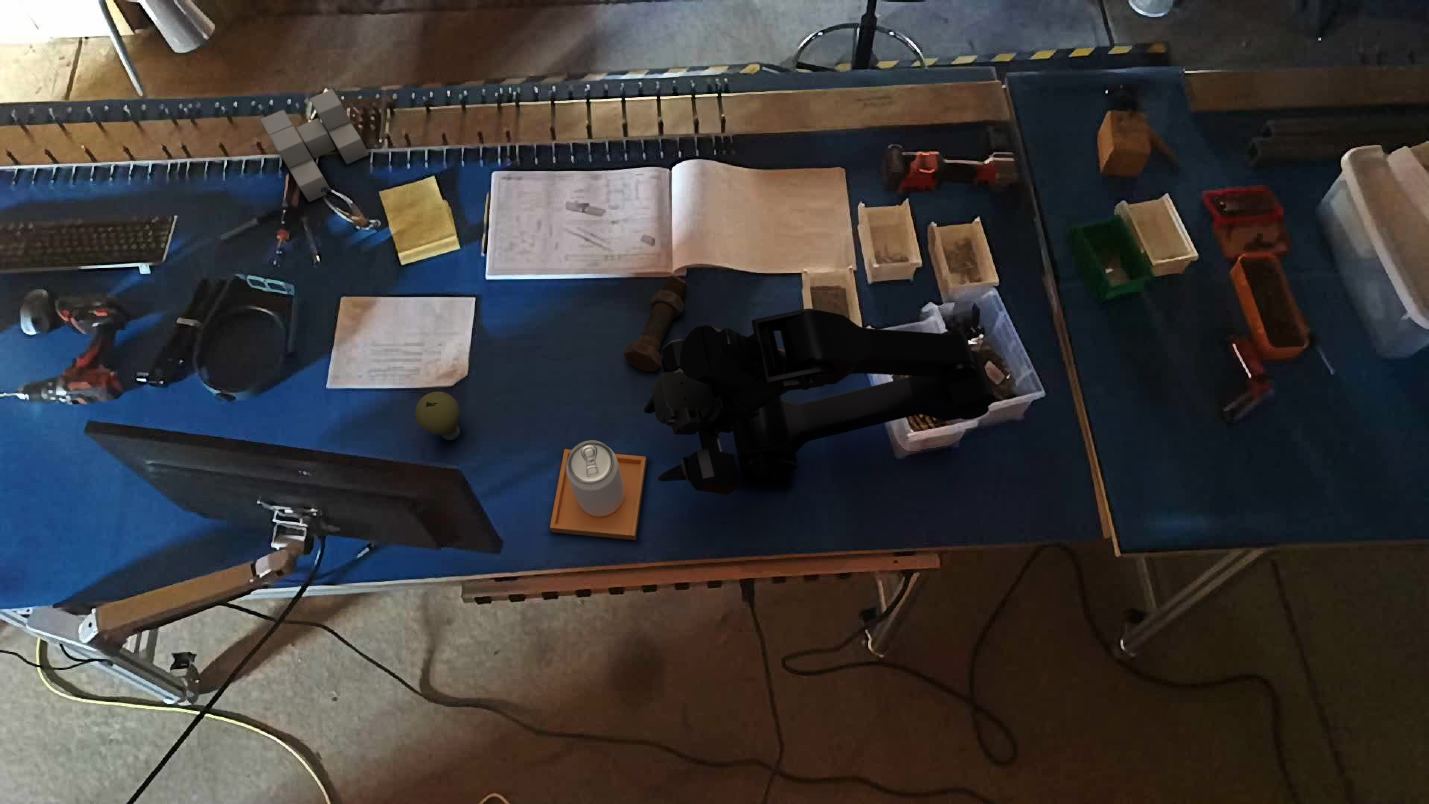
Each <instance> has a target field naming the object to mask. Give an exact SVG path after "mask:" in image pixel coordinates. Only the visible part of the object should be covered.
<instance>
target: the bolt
mask: <svg viewBox="0 0 1429 804" xmlns="http://www.w3.org/2000/svg"><path fill="white" fill-rule="evenodd" d="M687 287H688V286H687V282H686V280H684V279H683V278H681V277H679V276H677V275H668V277H667V278H666V281H665V283H664V285H663V287H662V289H660V290H658V291H656V293H655V294H654V295H653V296H652V298H651V300H650V302H649V303H650V305H651V308H652V311H651V313H650V315H649V317H648V319H647V322H646V324H645V326H644V328H643V330H642V332H641V334H640V336H639V338H638V339H637V340H634V341H632V342H631V343H630V344H629V345H627V346H626V347H625V349H624V351H623V357H624V358H625V361H626V362H627V363H629V364H630V365H631V366H633V367H635V368H636V369H637V370H640V371H642V372H656V371H657V370H659V368H661V367H662V365H661V360H662V358H663V355H661V353H660V350H661V346H662V345H663V342H664V340H665V337H666V335H667V333H668V330H669V328H670V326H671V324H672V321H673V319H675V318H677V317H679V316H680V315H681V314H682V312H683V311H684V308H685V304H684V302H683V296H684V294H685V292H686V290H687Z"/></svg>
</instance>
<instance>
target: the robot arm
mask: <svg viewBox="0 0 1429 804" xmlns="http://www.w3.org/2000/svg"><path fill="white" fill-rule="evenodd" d="M751 325H752V327H751V328H752V331H753V333H752V334H750V335H748V336H746V335H744V334H741V333H739V332H738V331H736V330H734V329H732V328H730V327H724V328H723V329H719V328H718V327H714V326H712V325H708V324H707V325H701V326H699V325H698V326H696V327H694V328H693V329H692V330H691V331H689V332H688V334H687V336H686V337H685V339H681V338H678V339H672V340H671V341H669V342H668V343H667V344H665V345H664V346H662V348H661V354H662V355H661V356H662V357H663V358H662V360H661V370H662V374H661V375H660V376H659V378H658V379H657V380H656V382H655V383H654V385H652V387H651V389H650V396H651V397H650V399H649V400H648V402H647V404H646V405H645V406H644V408H643V412H644V413H645V414H649V415H650V414H653V413H654V414H655V418H656V420H657V421H658V422H660V423H661V424H663V425H664V424H665V425H666V426H669V427H671V429H672V433H673V434H674V435H675V436H691V435H692V436H693V435H695V434H697V433H698V438H699V442H700V446H701V449H700V450H696V451H695V452H693V453H691V454H690V455H689V457H686V456H682V458H681V463H680V464H677V465H676V466H673V467H672V468H670V469H668V470H666V471H664V472H663V473H661V475H659V476H658V477H657V480H658V481H659V482H665V483H666V482H677V481H687V482H689V483H690V484H691V487H693V489H694V490H695V491H698V492H703V493H712V494H718V495H724V496H728V495H730V494H732V493H733V492H735V491H737V490H738V489H739V487H740V486H741V483H742V484H747V485H748V484H749V485H759V486H769V487H780V488H787V487H788V486H789V484H790V473H794V471H796V470H797V469H798V468H799V462H798V457H797V452H798V451H799V450H800V449H801V448H802V447H803V446H804V445H805V444H806V443H808V442H811V441H816V440H819V439H823V438H827V437H832V436H837V435H840V434H844V433H849V432H853V431H856V430H861V429H865V428H869V427H873V426H877V425H882V424H885V423H889V422H894V421H897V420H902V419H906V418H911V417H914V416H919V415H923V416H925V417H929V418H933V419H936V420H939V421H943V422H951V421H955V420H960V419H961V420H964V421H968V420H969V421H971V420H975V419H978V418H980V417H983V416H985V415H986V414H988V413H989V411H990V409H989V407H990V406H991V405H992V404H993V403H994V402H995V400H996V396H995V393H994V390H993V388H992V384H991V382H990V379H989V376H988V372H987V370H986V367H985V364H984V361H983V358H982V355H981V353H980V352H979V351H976V350H972V349H971V346H970V343H969V340H968V336H966V335H965V334H964V332H963V331H962V330H959V329H950V330H946V331H943V332H928V331H927V332H926V331H914V330H901V329H899V330H898V329H885V328H870V327H864V326H860V325H858V324H857V323H855V322H853V320H851V319H850V318H848V317H847V316H845V314H842V313H837V312H834V311H833V312H832V311H828V310H824V309H823V310H822V309H817V308H803V309H798V310H792V311H787V312H784V313H779V314H772V315H769V316H763V317H759V318H754V319H752V320H751ZM775 332H780V336H781V341H782V345H783V349H784V350H783V349H782V348H778V344H777V340H776V339H777V338H776V334H775ZM856 374H864V375H865V374H866V375H883V376H884V375H885V376H886V375H889V376H905V377H903V378H898V379H895V380H891V381H887V382H883V383H879V384H875V385H871V386H867V387H863V388H860V389H855V390H851V391H847V392H843V393H839V394H835V395H831V396H828V397H822V398H820V399H815V400H811V401H807V402H803V403H799V404H796V403H792V402H789V401H785V400H782V397H781V396H783V395H785V394H786V393H788V392H789V391H796V390H797V391H798V390H803V391H807V390H809V389H813V388H821V387H825V386H826V385H836V384H838V383H840V382H841V381H843V380H844V379H845V378H847V377H848V376H850V375H856ZM731 432H732V435H733V441H734V445H735V451H736V455H737V456H735V453H730V452H725V451H723V449H722V446H721V445H722V444H721V441H720V436H719V434H720V433H725V434H731ZM736 457H737V460H736ZM737 461H738V465H737ZM739 469H741V476H740V472H739ZM744 479H745V480H744ZM785 483H786V484H785Z"/></svg>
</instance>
